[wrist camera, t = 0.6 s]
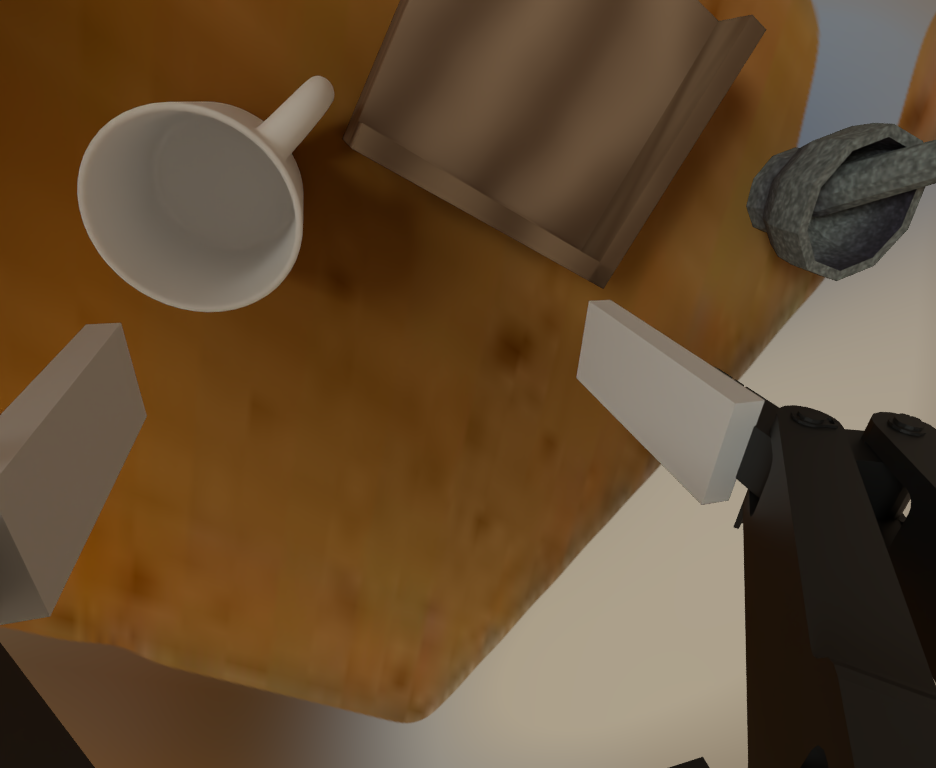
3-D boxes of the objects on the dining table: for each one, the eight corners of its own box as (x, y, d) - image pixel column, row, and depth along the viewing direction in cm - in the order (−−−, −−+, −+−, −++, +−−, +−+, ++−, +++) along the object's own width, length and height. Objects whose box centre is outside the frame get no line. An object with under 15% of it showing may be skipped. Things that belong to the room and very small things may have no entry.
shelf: (342, 138, 31) (352, 148, 24) (464, -153, 26) (515, -235, 20) (552, 257, 38) (603, 288, 31) (677, 43, 33) (766, 29, 27)
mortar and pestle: (766, 277, 44) (906, 331, 33) (703, 210, 39) (843, 249, 29) (870, 159, 41) (1057, 178, 31) (816, 73, 36) (1014, 62, 26)
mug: (269, 14, 27) (252, -27, 18) (378, 149, 31) (406, 168, 23) (110, 173, 28) (24, 205, 20) (236, 282, 33) (211, 348, 24)
